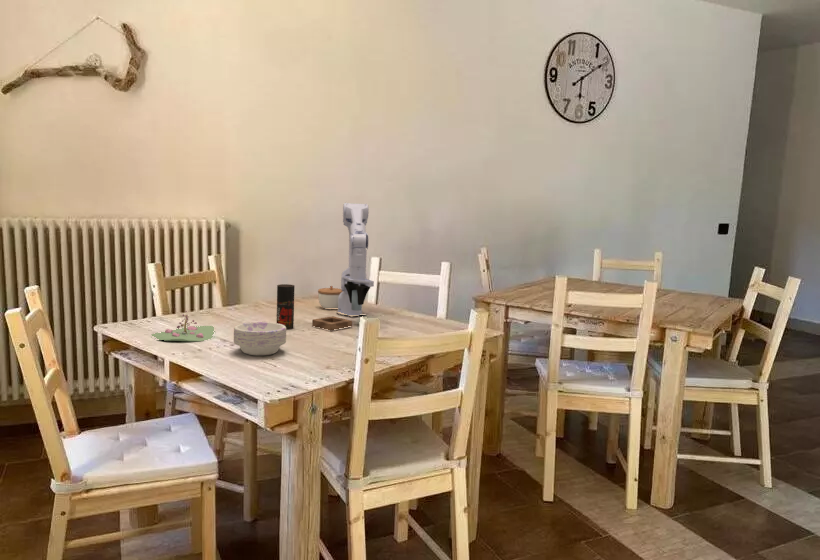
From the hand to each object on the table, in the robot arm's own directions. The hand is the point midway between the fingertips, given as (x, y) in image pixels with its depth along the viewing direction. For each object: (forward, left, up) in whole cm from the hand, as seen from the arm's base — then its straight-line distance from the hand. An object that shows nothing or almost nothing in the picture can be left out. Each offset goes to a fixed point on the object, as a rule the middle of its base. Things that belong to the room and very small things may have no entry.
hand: (356, 303), depth 231 cm
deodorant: (-12, -23, -8) cm, 27 cm away
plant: (-24, -53, -9) cm, 59 cm away
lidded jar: (-29, +14, -8) cm, 33 cm away
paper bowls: (+9, -49, -8) cm, 51 cm away
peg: (0, 0, -2) cm, 2 cm away
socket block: (-3, -9, -8) cm, 12 cm away
